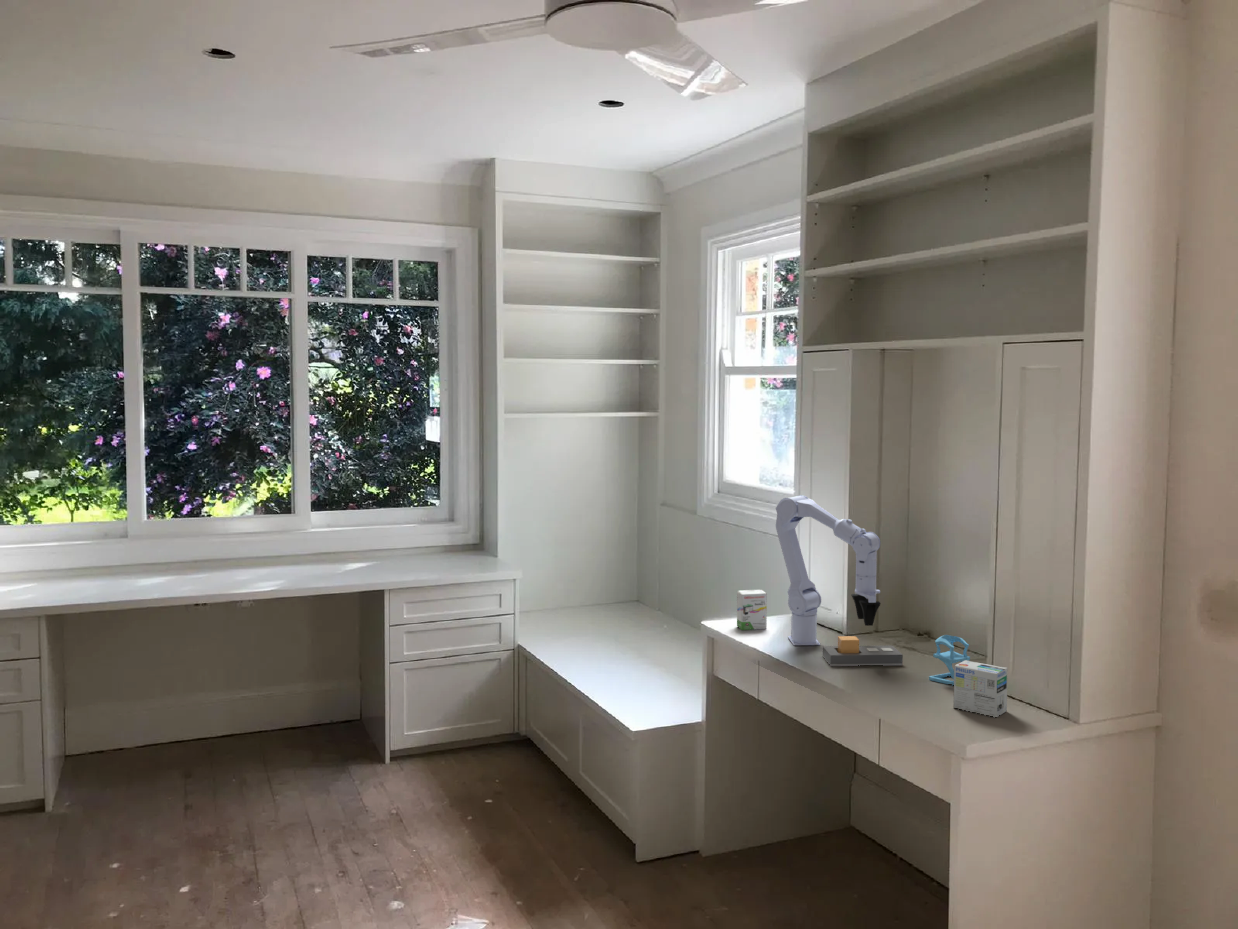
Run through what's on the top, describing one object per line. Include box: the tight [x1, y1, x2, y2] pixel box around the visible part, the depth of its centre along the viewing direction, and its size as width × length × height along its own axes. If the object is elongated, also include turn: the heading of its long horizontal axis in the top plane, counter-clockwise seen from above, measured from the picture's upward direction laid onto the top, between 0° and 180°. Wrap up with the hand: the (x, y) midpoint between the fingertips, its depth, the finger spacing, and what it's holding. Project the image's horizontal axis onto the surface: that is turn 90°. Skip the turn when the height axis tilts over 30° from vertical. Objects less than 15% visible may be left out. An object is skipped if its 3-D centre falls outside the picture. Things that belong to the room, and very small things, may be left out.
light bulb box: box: [952, 660, 1008, 718], centre depth 236 cm, size 11×7×11 cm, turn 48°
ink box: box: [736, 589, 768, 631], centre depth 314 cm, size 8×5×12 cm, turn 101°
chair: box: [928, 634, 971, 686], centre depth 257 cm, size 8×8×12 cm
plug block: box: [837, 635, 860, 653], centre depth 277 cm, size 4×5×6 cm
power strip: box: [822, 644, 904, 667], centre depth 277 cm, size 10×20×3 cm, turn 91°
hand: (865, 622), depth 283 cm, fingers open, 7 cm apart
